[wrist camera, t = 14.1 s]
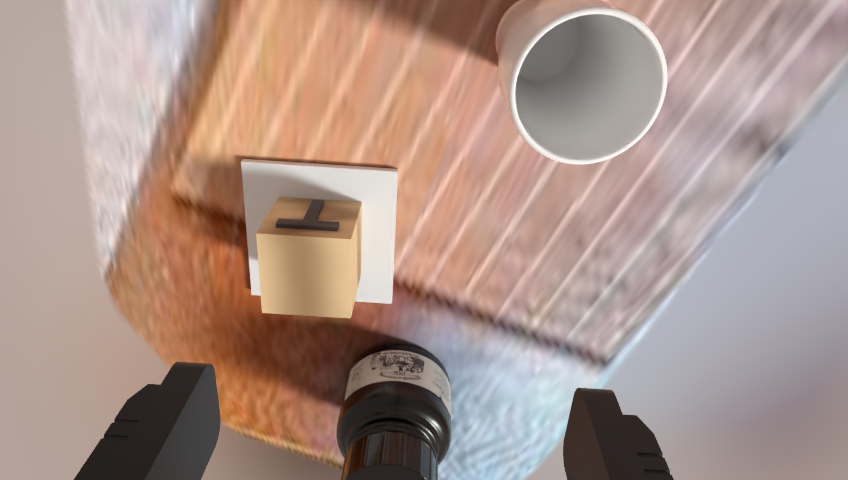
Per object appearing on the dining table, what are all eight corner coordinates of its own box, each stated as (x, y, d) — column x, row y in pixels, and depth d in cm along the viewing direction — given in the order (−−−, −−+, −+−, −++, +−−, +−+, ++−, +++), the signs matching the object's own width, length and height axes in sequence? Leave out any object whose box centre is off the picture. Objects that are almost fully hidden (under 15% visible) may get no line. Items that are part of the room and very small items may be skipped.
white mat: (243, 158, 43) (240, 161, 42) (397, 168, 43) (397, 171, 42) (253, 290, 48) (251, 294, 47) (392, 299, 48) (391, 303, 47)
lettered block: (362, 198, 43) (351, 235, 38) (361, 277, 46) (350, 322, 41) (278, 192, 43) (255, 229, 38) (282, 272, 46) (262, 316, 41)
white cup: (497, 103, 40) (526, 185, 27) (471, 0, 38) (488, 34, 24) (597, 73, 39) (679, 143, 26) (578, -35, 37) (659, -20, 23)
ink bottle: (465, 351, 50) (472, 464, 39) (443, 429, 54) (444, 552, 43) (349, 332, 49) (324, 441, 39) (336, 412, 53) (310, 532, 42)
